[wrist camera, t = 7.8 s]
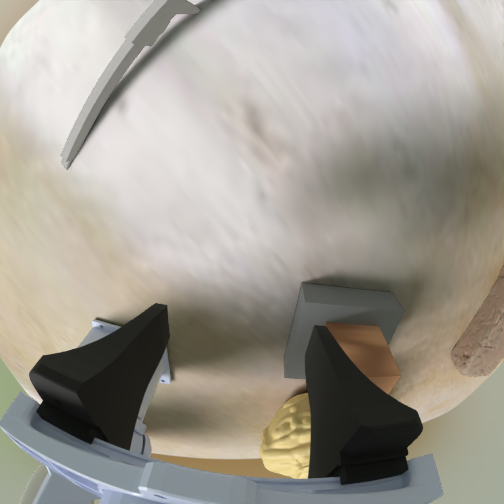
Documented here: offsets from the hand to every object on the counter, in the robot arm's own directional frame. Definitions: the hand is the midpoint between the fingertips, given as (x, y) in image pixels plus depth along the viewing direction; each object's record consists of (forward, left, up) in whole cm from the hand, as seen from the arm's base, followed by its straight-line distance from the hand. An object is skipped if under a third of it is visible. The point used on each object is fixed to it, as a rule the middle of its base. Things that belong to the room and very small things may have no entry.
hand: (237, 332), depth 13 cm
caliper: (-12, +14, -11) cm, 21 cm away
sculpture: (+10, -20, -11) cm, 25 cm away
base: (+9, -7, -10) cm, 15 cm away
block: (+9, -7, -7) cm, 13 cm away
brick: (+32, -4, -11) cm, 34 cm away
